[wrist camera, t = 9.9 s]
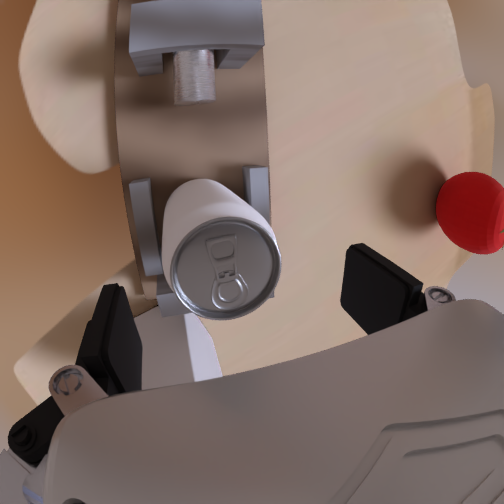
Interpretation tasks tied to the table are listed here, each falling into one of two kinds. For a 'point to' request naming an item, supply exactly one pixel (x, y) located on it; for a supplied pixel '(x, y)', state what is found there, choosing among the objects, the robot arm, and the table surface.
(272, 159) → the table surface
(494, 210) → the tomato
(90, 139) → the table surface
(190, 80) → the shaft
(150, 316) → the milk carton
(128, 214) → the base plate with brackets
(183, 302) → the can
